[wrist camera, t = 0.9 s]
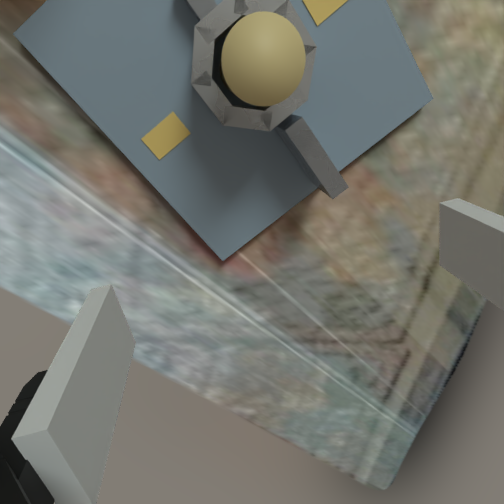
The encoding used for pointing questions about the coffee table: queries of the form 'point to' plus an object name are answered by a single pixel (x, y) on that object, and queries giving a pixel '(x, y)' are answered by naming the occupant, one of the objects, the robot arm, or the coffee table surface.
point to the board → (228, 97)
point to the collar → (261, 117)
